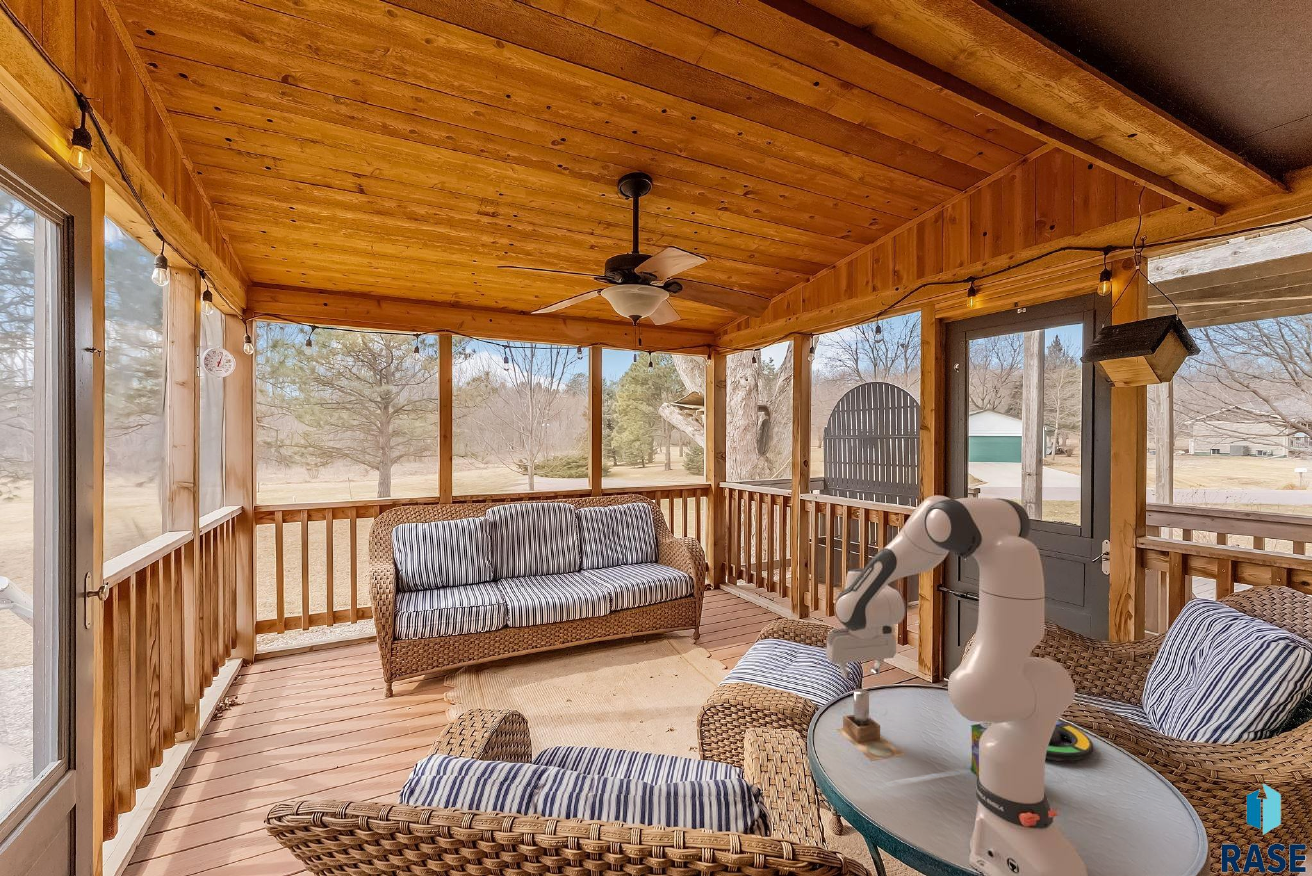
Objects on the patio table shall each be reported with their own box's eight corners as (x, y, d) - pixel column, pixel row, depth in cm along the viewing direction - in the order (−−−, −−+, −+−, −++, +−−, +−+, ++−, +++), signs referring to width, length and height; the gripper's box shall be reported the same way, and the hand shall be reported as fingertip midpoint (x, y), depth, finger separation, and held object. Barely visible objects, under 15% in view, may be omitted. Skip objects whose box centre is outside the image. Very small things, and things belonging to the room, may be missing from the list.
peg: (872, 737, 155) (872, 694, 155) (859, 739, 154) (859, 695, 154) (863, 730, 159) (863, 687, 159) (850, 732, 158) (850, 689, 158)
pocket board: (904, 758, 147) (904, 739, 147) (871, 764, 144) (871, 744, 144) (867, 728, 162) (867, 710, 162) (836, 732, 160) (836, 715, 160)
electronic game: (1113, 755, 149) (1113, 737, 149) (1056, 775, 140) (1056, 755, 140) (1027, 716, 170) (1027, 700, 170) (973, 731, 162) (973, 714, 162)
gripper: (834, 632, 151) (833, 684, 151) (900, 626, 156) (899, 676, 157) (821, 625, 157) (821, 674, 158) (885, 619, 162) (884, 667, 163)
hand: (860, 675), depth 157 cm, fingers open, 8 cm apart
